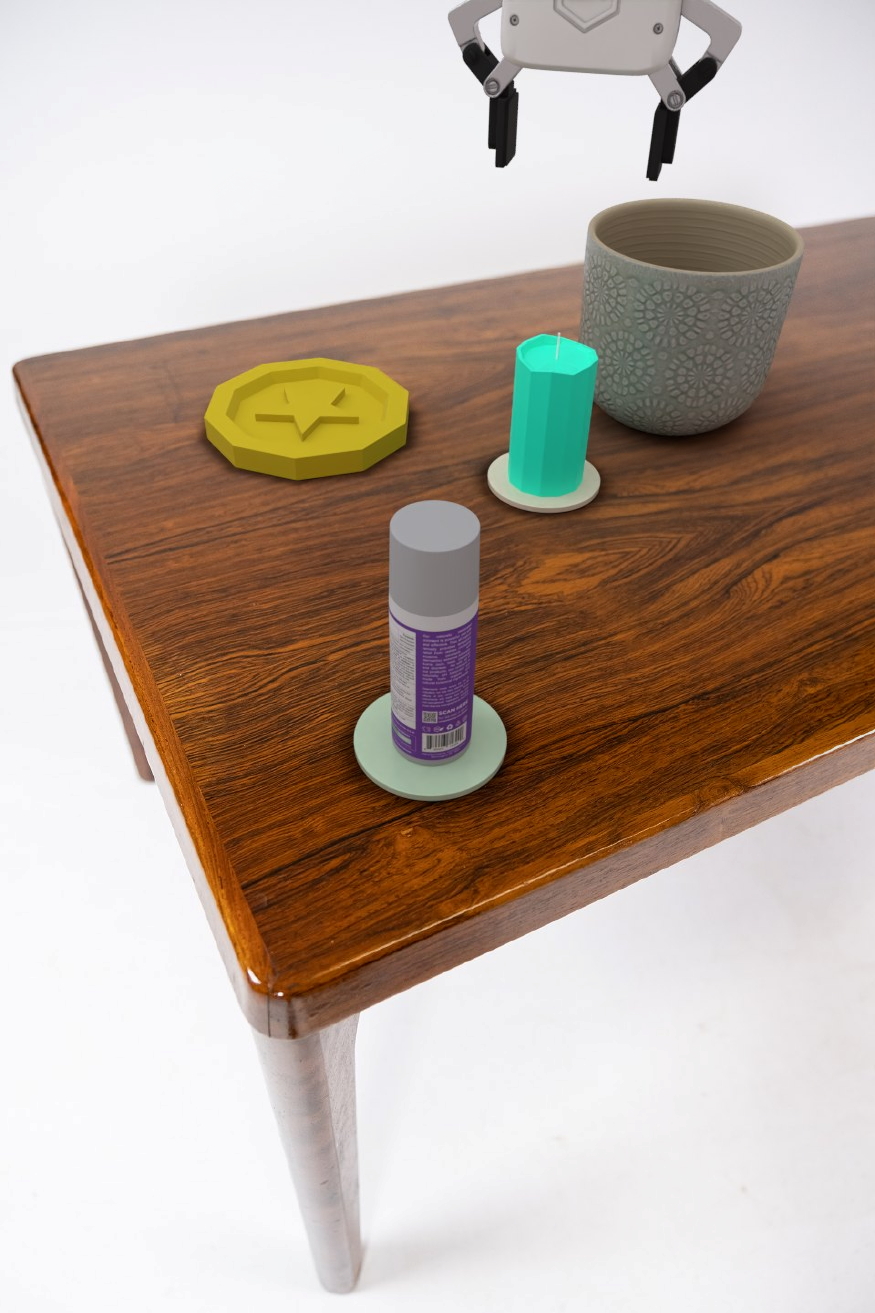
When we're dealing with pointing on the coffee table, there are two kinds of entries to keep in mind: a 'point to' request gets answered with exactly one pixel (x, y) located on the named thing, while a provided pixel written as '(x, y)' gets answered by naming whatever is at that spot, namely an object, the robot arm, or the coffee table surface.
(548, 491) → the candle
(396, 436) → the decorative disc
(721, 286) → the planter
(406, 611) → the container
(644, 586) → the coffee table surface
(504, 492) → the far coaster
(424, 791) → the near coaster
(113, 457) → the coffee table surface
